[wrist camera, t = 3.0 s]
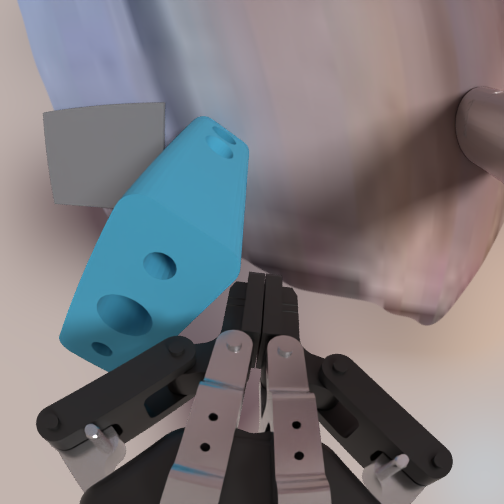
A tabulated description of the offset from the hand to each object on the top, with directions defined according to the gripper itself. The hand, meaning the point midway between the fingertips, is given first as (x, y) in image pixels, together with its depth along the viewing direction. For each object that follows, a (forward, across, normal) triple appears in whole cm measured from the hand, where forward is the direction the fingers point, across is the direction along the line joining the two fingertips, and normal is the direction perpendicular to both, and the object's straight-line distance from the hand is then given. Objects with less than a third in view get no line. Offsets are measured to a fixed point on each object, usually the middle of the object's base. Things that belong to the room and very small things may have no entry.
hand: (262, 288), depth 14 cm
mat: (+18, +19, 0) cm, 26 cm away
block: (+18, +7, 0) cm, 19 cm away
